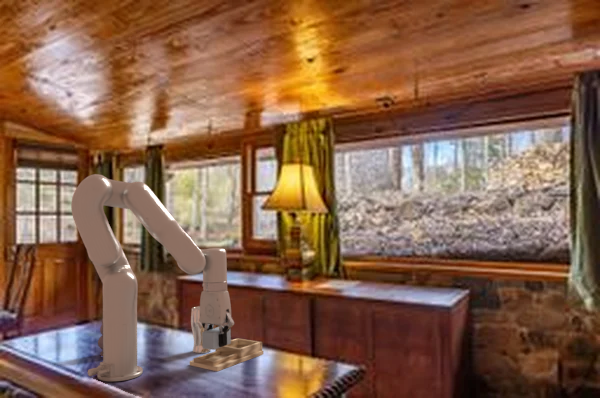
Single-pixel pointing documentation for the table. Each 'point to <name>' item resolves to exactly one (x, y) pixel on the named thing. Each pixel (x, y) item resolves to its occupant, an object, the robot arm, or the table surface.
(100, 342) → the cat figurine
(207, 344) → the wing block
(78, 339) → the table surface
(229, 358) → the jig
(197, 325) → the beer glass
